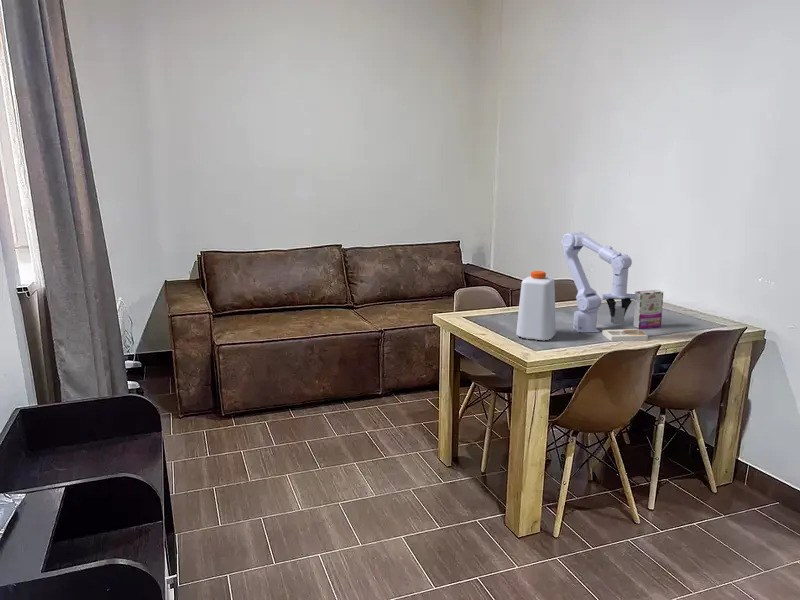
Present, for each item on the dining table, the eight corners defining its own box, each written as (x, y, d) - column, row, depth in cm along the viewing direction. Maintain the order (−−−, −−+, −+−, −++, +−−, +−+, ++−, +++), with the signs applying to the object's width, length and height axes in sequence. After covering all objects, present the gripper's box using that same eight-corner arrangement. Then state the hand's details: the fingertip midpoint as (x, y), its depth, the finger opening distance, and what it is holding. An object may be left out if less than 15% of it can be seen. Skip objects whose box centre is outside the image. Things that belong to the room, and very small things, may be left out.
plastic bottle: (549, 343, 248) (552, 276, 242) (513, 338, 255) (515, 273, 248) (557, 333, 261) (560, 270, 255) (523, 329, 268) (525, 267, 261)
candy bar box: (654, 324, 273) (657, 289, 269) (661, 327, 268) (664, 291, 265) (632, 326, 271) (634, 290, 267) (638, 329, 266) (641, 293, 263)
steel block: (614, 324, 251) (615, 308, 249) (610, 322, 255) (611, 306, 253) (623, 324, 251) (624, 308, 249) (619, 321, 255) (621, 305, 253)
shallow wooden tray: (611, 341, 249) (611, 336, 249) (602, 334, 259) (602, 329, 258) (647, 340, 250) (648, 335, 249) (637, 333, 260) (637, 328, 259)
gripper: (606, 286, 245) (604, 318, 248) (641, 285, 245) (638, 317, 249) (599, 283, 252) (597, 314, 255) (633, 282, 252) (631, 313, 255)
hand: (617, 315), depth 252 cm, fingers closed on steel block, 4 cm apart
